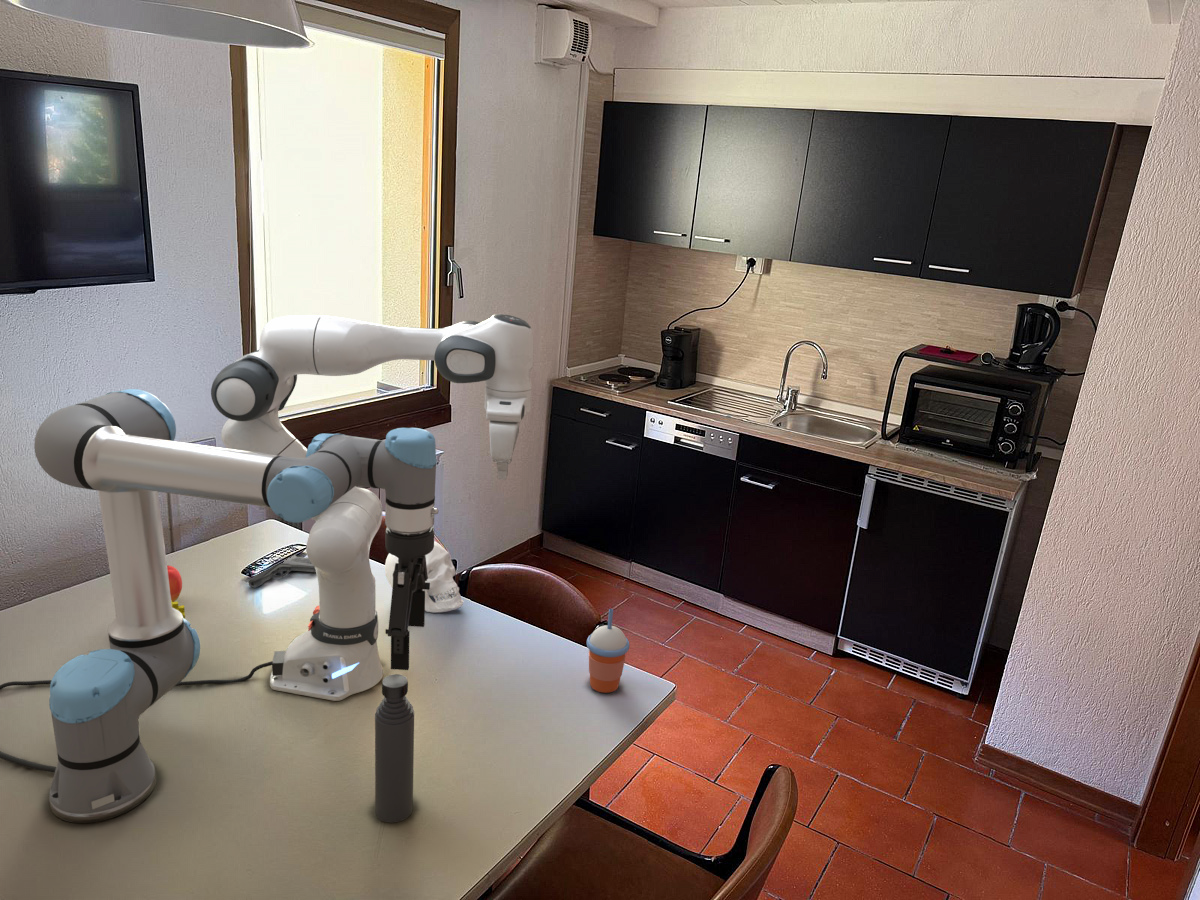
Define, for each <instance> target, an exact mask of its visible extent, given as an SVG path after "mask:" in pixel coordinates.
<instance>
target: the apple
mask: <svg viewBox="0 0 1200 900" xmlns="http://www.w3.org/2000/svg"><path fill="white" fill-rule="evenodd" d="M167 570H168V578H169V587H170V595H171V600H172V602H176V601H177V599H178V598H179V596H180V595H181V592H182V590H183V579H182V576H181V572H180V571H179V570H178V569H177V568H176V567H174V566H172V565H168V564H167Z"/></svg>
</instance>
